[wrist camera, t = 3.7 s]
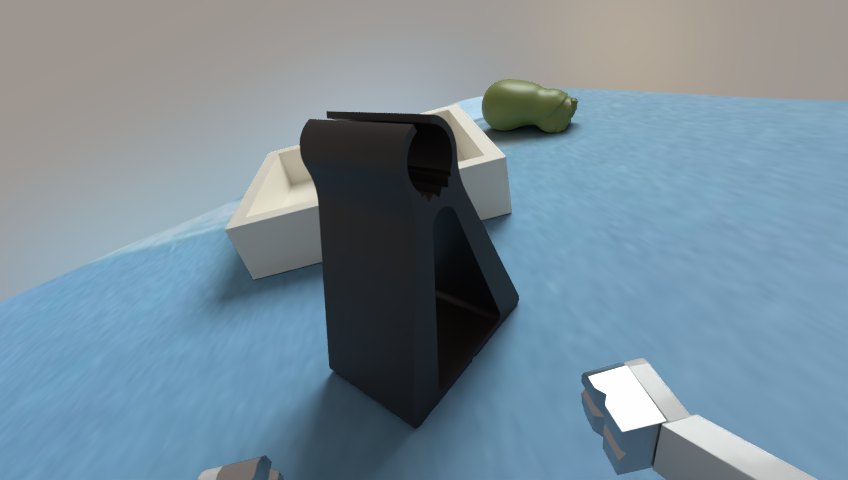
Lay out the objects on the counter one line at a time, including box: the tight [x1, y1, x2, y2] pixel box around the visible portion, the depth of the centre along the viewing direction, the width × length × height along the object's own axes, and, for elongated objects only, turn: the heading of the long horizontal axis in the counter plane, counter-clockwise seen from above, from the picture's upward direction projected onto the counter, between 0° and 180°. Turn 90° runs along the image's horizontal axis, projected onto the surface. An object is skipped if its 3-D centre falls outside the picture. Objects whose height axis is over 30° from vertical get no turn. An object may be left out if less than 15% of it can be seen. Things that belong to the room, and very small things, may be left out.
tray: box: [225, 104, 512, 280], centre depth 35 cm, size 20×16×4 cm
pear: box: [482, 79, 578, 133], centre depth 43 cm, size 6×5×10 cm
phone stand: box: [300, 111, 519, 428], centre depth 18 cm, size 9×6×12 cm, turn 139°
